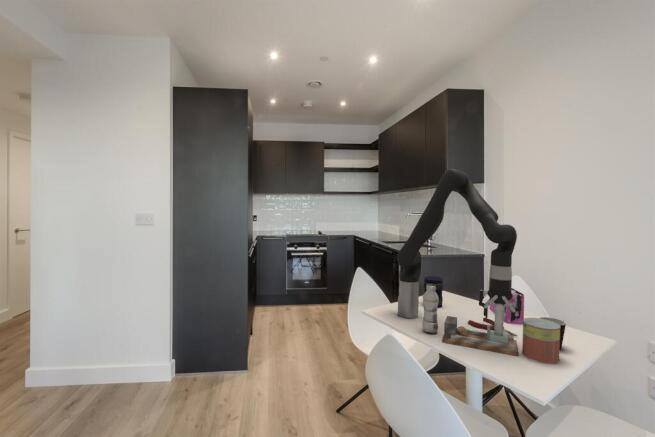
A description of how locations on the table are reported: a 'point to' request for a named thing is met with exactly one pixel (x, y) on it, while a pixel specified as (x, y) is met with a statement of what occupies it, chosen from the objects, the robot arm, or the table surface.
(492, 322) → the pliers
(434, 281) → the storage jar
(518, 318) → the gum box
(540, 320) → the canned food
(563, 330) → the coffee mug
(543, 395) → the table surface
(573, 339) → the table surface
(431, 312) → the plastic bottle
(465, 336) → the base
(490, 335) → the grey post on base
